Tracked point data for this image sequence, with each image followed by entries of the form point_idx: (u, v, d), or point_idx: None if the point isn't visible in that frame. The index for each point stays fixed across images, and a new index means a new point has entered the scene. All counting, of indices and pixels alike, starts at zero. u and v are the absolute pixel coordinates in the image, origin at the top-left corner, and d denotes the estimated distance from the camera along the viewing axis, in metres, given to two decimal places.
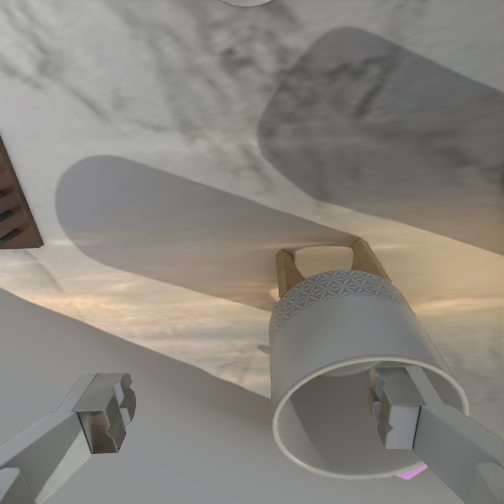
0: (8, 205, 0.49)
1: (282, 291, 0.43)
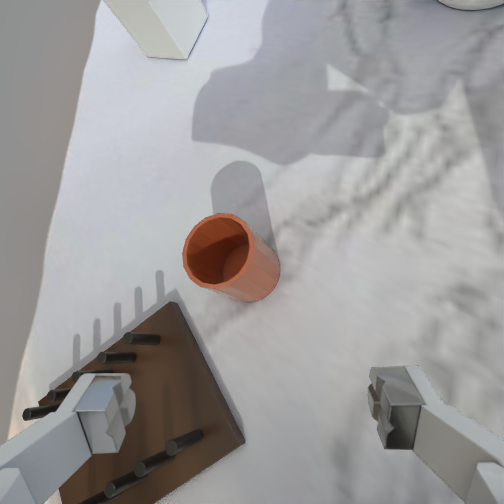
0: (128, 488, 0.28)
1: None
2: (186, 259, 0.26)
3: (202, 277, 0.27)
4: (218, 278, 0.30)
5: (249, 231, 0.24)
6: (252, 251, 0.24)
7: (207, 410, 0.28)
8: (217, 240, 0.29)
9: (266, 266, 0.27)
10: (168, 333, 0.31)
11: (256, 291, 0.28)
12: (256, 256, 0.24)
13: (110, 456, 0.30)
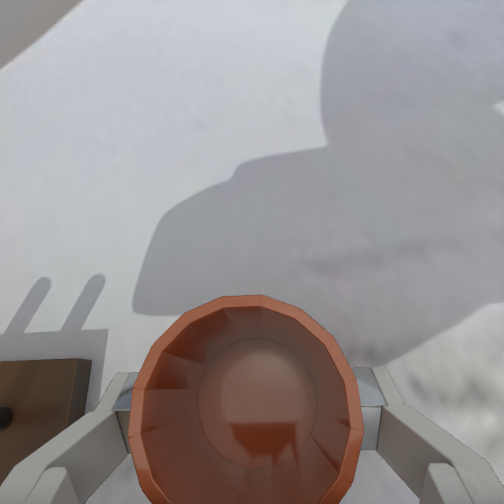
0: None
1: None
2: (151, 371, 0.09)
3: (163, 416, 0.10)
4: (193, 386, 0.14)
5: (359, 425, 0.08)
6: (340, 496, 0.08)
7: None
8: (242, 327, 0.12)
9: None
10: (33, 423, 0.14)
11: None
12: None
13: None
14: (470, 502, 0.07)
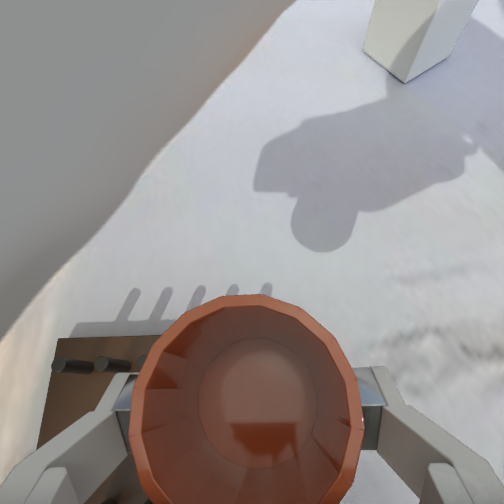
0: None
1: None
2: (152, 370, 0.09)
3: (163, 415, 0.10)
4: (194, 386, 0.14)
5: (360, 424, 0.08)
6: (341, 496, 0.08)
7: None
8: (242, 327, 0.12)
9: None
10: None
11: None
12: None
13: None
14: (470, 502, 0.07)
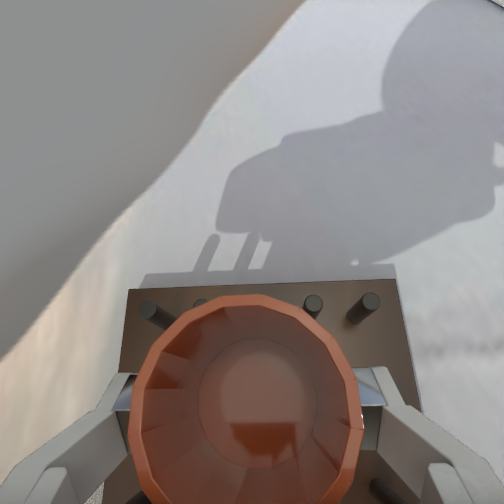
0: None
1: None
2: (151, 370, 0.09)
3: (163, 415, 0.10)
4: (193, 386, 0.14)
5: (359, 424, 0.08)
6: (340, 496, 0.08)
7: None
8: (242, 327, 0.12)
9: None
10: (378, 318, 0.21)
11: None
12: None
13: None
14: (470, 502, 0.07)
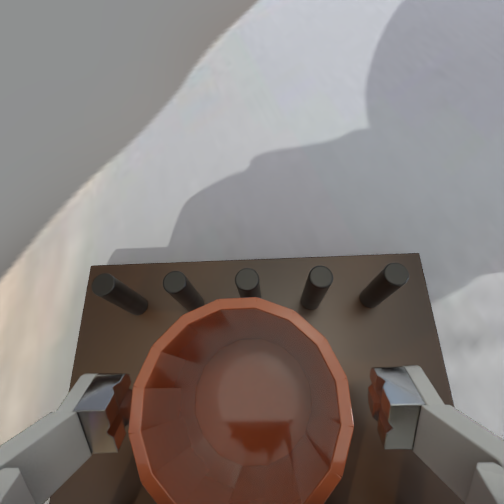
0: None
1: None
2: (151, 370, 0.09)
3: (162, 414, 0.10)
4: (191, 385, 0.14)
5: (349, 422, 0.08)
6: (331, 489, 0.08)
7: (441, 484, 0.14)
8: (238, 328, 0.13)
9: None
10: (399, 301, 0.17)
11: None
12: None
13: None
14: None
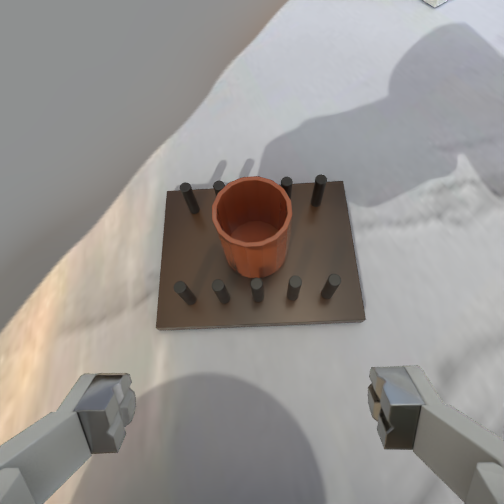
0: (237, 301, 0.29)
1: None
2: (218, 201, 0.25)
3: (220, 225, 0.26)
4: None
5: (290, 212, 0.24)
6: (283, 231, 0.24)
7: (344, 279, 0.29)
8: (249, 203, 0.28)
9: (280, 252, 0.27)
10: (330, 204, 0.32)
11: (256, 268, 0.27)
12: (282, 237, 0.24)
13: (228, 268, 0.30)
14: None
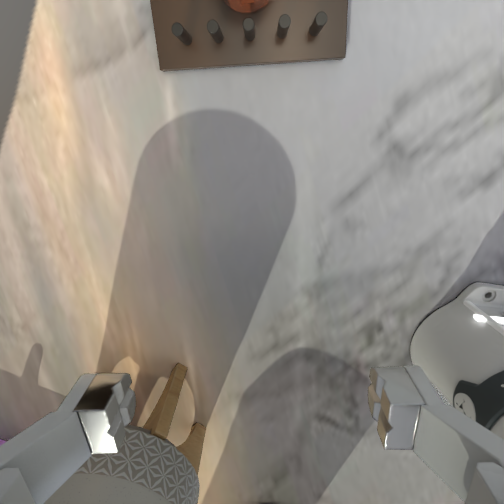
0: (230, 40, 0.31)
1: (161, 430, 0.38)
2: None
3: None
4: None
5: None
6: None
7: (333, 12, 0.30)
8: None
9: None
10: None
11: (247, 3, 0.28)
12: None
13: (219, 1, 0.30)
14: None
